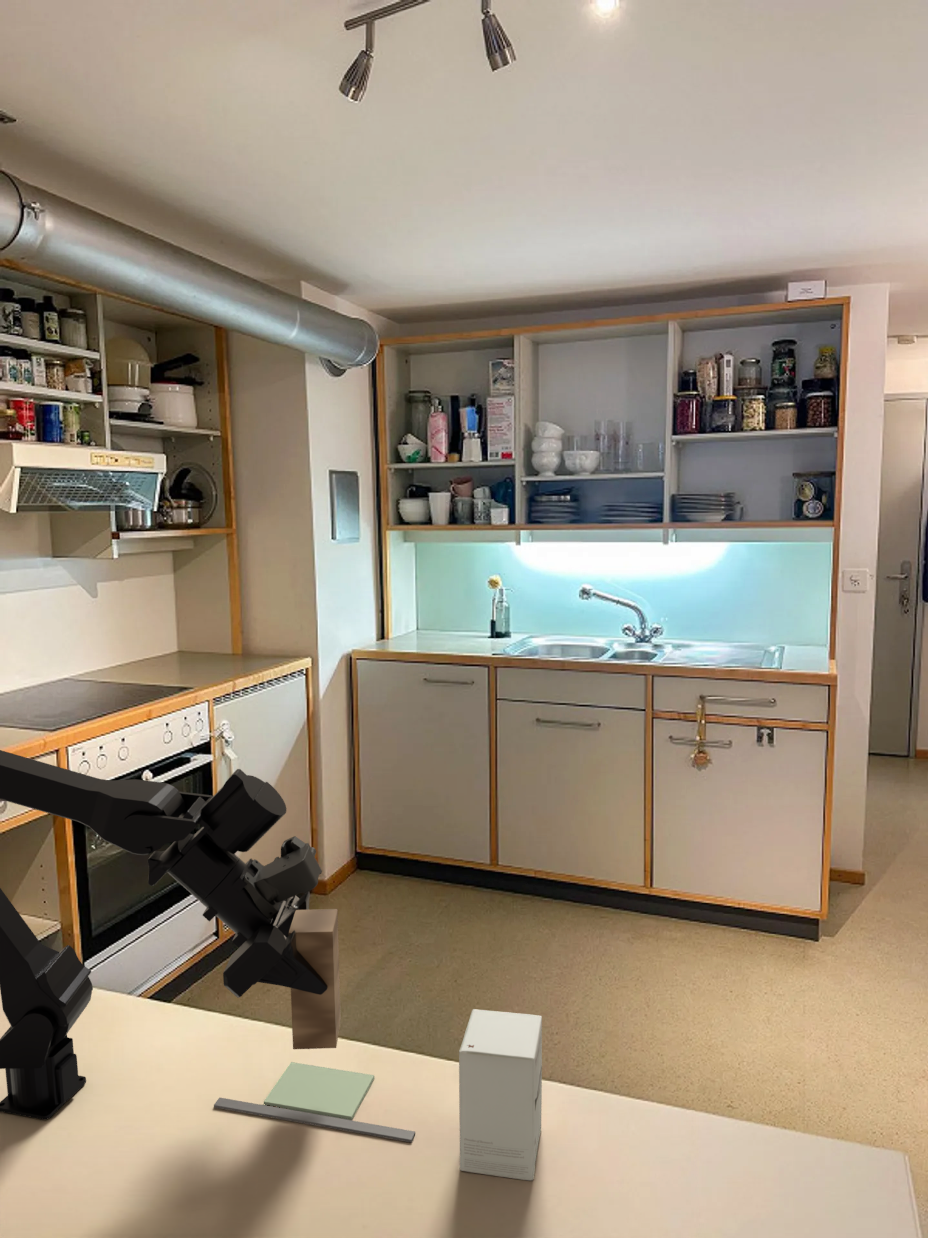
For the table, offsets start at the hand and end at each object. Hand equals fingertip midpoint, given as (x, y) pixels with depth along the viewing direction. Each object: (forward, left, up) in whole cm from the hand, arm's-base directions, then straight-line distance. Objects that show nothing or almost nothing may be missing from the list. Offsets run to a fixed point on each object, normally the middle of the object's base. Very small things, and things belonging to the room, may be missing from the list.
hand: (328, 977), depth 94 cm
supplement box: (+20, -4, -14) cm, 24 cm away
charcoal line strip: (0, -5, -13) cm, 14 cm away
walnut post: (-1, 0, -7) cm, 7 cm away
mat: (-1, 0, -13) cm, 13 cm away
